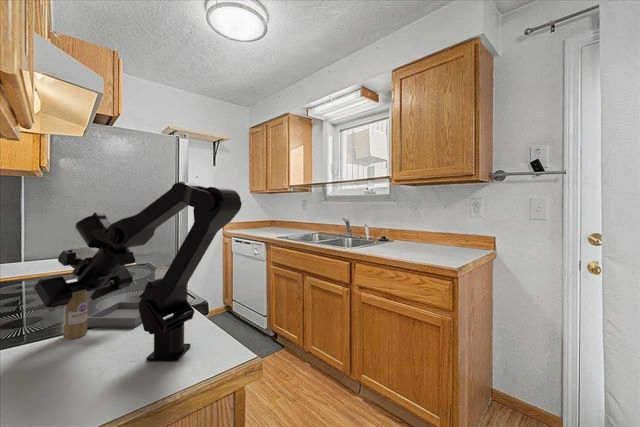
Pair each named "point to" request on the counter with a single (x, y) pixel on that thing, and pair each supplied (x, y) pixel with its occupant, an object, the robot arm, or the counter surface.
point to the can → (161, 271)
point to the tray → (116, 316)
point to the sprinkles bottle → (75, 315)
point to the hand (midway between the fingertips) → (72, 304)
